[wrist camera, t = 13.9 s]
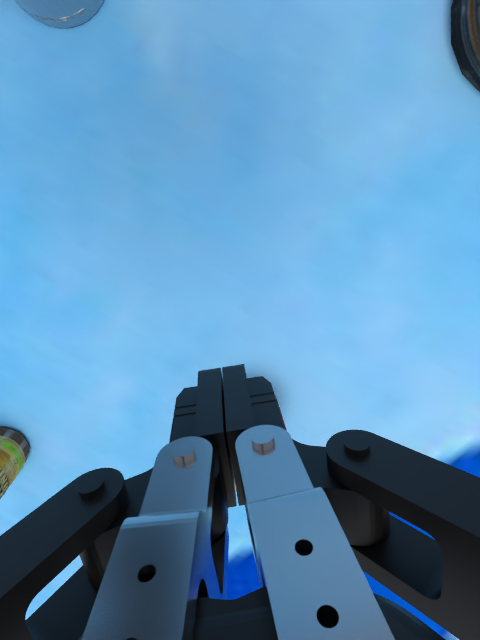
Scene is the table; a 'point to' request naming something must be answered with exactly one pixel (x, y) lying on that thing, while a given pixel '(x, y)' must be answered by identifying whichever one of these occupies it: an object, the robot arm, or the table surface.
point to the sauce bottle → (11, 456)
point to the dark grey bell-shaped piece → (467, 38)
